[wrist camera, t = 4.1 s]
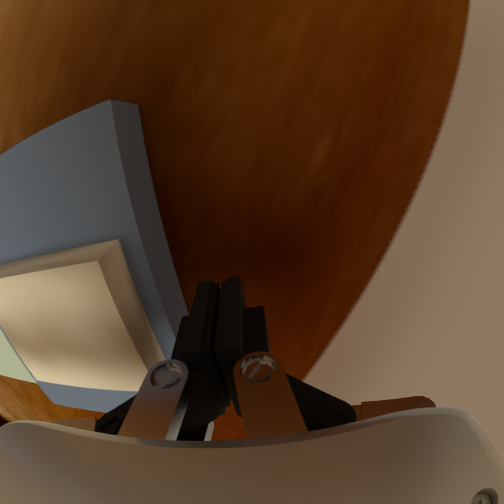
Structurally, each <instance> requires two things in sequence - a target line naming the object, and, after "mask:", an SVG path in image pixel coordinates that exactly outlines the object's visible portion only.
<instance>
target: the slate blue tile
mask: <svg viewBox="0 0 504 504" xmlns="http://www.w3.org/2000/svg"><path fill="white" fill-rule="evenodd" d="M117 239H119V242H120V245H121V248H122V251H123V254H124V257H125V260H126V263H127V266H128V269H129V272H130V275H131V277H132V280H133V283H134V286H135V288H136V291H137V294H138V296H139V299H140V301H141V304H142V306H143V309H144V311H145V314H146V316H147V318H148V321H149V323H150V326H151V328H152V330H153V333H154V335H155V337H156V339H157V341H158V344H159V346H160V348H161V350H162V352H163V354H164V357H165V359H166V360H170V359H171V355H172V352H173V348H174V344H175V340H176V336H177V333H178V329H179V325H180V322H181V319H182V316H185V315H189V313H188V310H187V307H186V304H185V301H184V298H183V294H182V291H181V288H180V285H179V281H178V278H177V275H176V271H175V268H174V264H173V261H172V257H171V254H170V250H169V247H168V243H167V239H166V235H165V232H164V228H163V224H162V220H161V216H160V212H159V208H158V204H157V199H156V195H155V191H154V186H153V182H152V177H151V173H150V168H149V163H148V158H147V153H146V148H145V142H144V137H143V131H142V126H141V120H140V114H139V107H138V104H134V103H129V102H123V101H118V100H112V99H110V100H107V101H105V102H102V103H100V104H97V105H95V106H92V107H90V108H87V109H85V110H83V111H80V112H78V113H76V114H74V115H71V116H69V117H67V118H65V119H63V120H61V121H59V122H57V123H55V124H53V125H51V126H49V127H47V128H45V129H43V130H41V131H39V132H37V133H36V134H34V135H32V136H30V137H29V138H27V139H25V140H23V141H22V142H20V143H18V144H17V145H15V146H13V147H12V148H10V149H9V150H7V151H6V152H4V153H2V154H1V155H0V265H4V264H8V263H12V262H16V261H20V260H24V259H28V258H33V257H37V256H41V255H46V254H50V253H54V252H59V251H63V250H68V249H73V248H77V247H82V246H87V245H92V244H97V243H102V242H107V241H112V240H117ZM0 329H1V331H2V332H3V334H4V336H5V337H6V339H7V341H8V342H9V344H10V345H11V347H12V348H13V350H14V352H15V353H16V355H17V356H18V358H19V359H20V360H21V362H22V363H23V365H24V366H25V368H26V369H27V370H28V372H29V373H30V374H31V376H32V377H33V378H34V380H35V381H36V382H37V384H38V385H39V386H40V387H41V389H42V390H43V391H44V392H45V394H46V395H47V396H48V397H49V398H50V400H51V401H52V402H53V403H54V404H59V405H63V406H69V407H74V408H80V409H85V410H92V411H99V412H106V413H108V412H109V411H111V410H113V409H114V408H116V407H117V406H119V405H121V404H122V403H124V402H125V401H127V400H128V399H130V398H131V397H133V396H134V395H136V394H137V393H138V391H119V390H105V389H94V388H84V387H76V386H68V385H61V384H55V383H49V382H43V381H38V380H36V379H35V377H34V376H33V375H32V373H31V372H30V370H29V369H28V368H27V366H26V365H25V363H24V362H23V361H22V359H21V358H20V356H19V355H18V353H17V352H16V350H15V349H14V347H13V345H12V344H11V342H10V341H9V339H8V337H7V336H6V334H5V332H4V331H3V329H2V327H1V326H0Z"/></svg>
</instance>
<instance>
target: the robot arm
mask: <svg viewBox="0 0 504 504" xmlns="http://www.w3.org/2000/svg"><path fill="white" fill-rule="evenodd" d="M231 399H232V402H233V404H234V407H235V410H236V412H237V415H239V416H240V417H242V420H243V424H244V429H245V434H246V438H247V439H244V440H225V441H210V440H211V436H212V432H213V428H214V423H213V420H214V419H216V418H217V417H218V416H219V415H225V407H226V406H230V403H231ZM0 504H504V464H503V462H502V460H501V458H500V456H499V454H498V452H497V450H496V448H495V446H494V445H493V443H492V441H491V440H490V438H489V436H488V435H487V433H486V432H485V431H484V429H483V428H482V427H481V425H480V424H479V423H478V422H477V421H476V419H474V418H473V417H472V416H471V415H470V414H468V413H466V412H465V411H462V410H459V409H454V408H445V407H436V405H435V403H434V402H433V401H432V400H430V399H429V398H426V397H424V396H414V397H407V398H399V399H391V400H381V401H368V402H361V405H350V404H348V403H347V402H345V401H343V400H341V399H338V398H336V397H334V396H332V395H330V394H327V393H325V392H323V391H321V390H319V389H317V388H314V387H312V386H310V385H308V384H306V383H304V382H302V381H300V380H298V379H296V378H294V377H292V376H290V375H288V374H286V373H285V371H284V368H283V365H282V363H281V361H280V360H279V358H278V357H277V356H275V355H274V354H271V353H270V345H269V337H268V330H267V323H266V317H265V311H264V306H258V307H251V308H247V306H246V301H245V296H244V291H243V286H242V281H241V277H240V276H239V277H232V278H226V282H222V284H221V292H220V287H219V284H218V283H215V284H214V283H213V281H212V280H210V281H203V282H198V285H197V289H196V293H195V297H194V301H193V305H192V309H191V313H190V315H185V316H182V319H181V322H180V325H179V329H178V333H177V336H176V340H175V344H174V348H173V352H172V355H171V359H170V360H164V361H161V362H159V363H157V364H155V365H154V366H153V367H151V368H150V370H149V371H148V373H147V374H146V376H145V378H144V380H143V382H142V384H141V386H140V388H139V391H138V393H137V394H136V395H134V396H133V397H131V398H130V399H128V400H127V401H125V402H124V403H122V404H121V405H119V406H117V407H116V408H114V409H113V410H111V411H109V412H108V413H106V414H105V415H103V416H102V417H101V418H100V419H99V420H97V419H96V418H84V419H64V420H55V421H53V422H51V423H48V422H43V421H34V420H21V421H15V422H11V423H8V424H5V425H3V426H2V427H1V428H0Z"/></svg>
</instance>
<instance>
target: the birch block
mask: <svg viewBox="0 0 504 504" xmlns="http://www.w3.org/2000/svg"><path fill="white" fill-rule="evenodd" d="M0 326H1V327H2V329H3V331H4V332H5V334H6V336H7V337H8V339H9V341H10V342H11V344H12V345H13V347H14V349H15V350H16V352H17V353H18V355H19V356H20V358H21V359H22V361H23V362H24V363H25V365H26V366H27V368H28V369H29V370H30V372H31V373H32V375H33V376H34V377H35V379H36V380H38V381H43V382H49V383H55V384H61V385H68V386H76V387H84V388H94V389H105V390H119V391H139V388H140V386H141V384H142V382H143V380H144V378H145V376H146V374H147V373H148V371H149V370H150V368H151V367H153V366H154V365H155V364H157V363H159V362H161V361H164V360H166V359H165V357H164V354H163V352H162V350H161V348H160V346H159V344H158V341H157V339H156V337H155V335H154V333H153V330H152V328H151V326H150V323H149V321H148V318H147V316H146V314H145V311H144V309H143V306H142V304H141V301H140V299H139V296H138V294H137V291H136V288H135V286H134V283H133V280H132V277H131V275H130V272H129V269H128V266H127V263H126V260H125V257H124V254H123V251H122V248H121V245H120V242H119V239H117V240H112V241H107V242H102V243H97V244H92V245H87V246H82V247H77V248H73V249H68V250H63V251H59V252H54V253H50V254H46V255H41V256H37V257H33V258H28V259H24V260H20V261H16V262H12V263H8V264H4V265H0Z"/></svg>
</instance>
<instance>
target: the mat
mask: <svg viewBox="0 0 504 504" xmlns="http://www.w3.org/2000/svg"><path fill="white" fill-rule="evenodd" d="M0 375H4V376H8V377H11V378H16V379H20V380H24V381H29V382H33V383H37V382H36V381H35V380H34V378H33V377H32V376H31V374H30V373H29V372H28V370H27V369H26V368H25V366H24V365H23V363H22V362H21V360H20V359H19V358H18V356H17V355H16V353H15V352H14V350H13V348H12V347H11V345H10V344H9V342H8V341H7V339H6V337H5V336H4V334H3V332H2V331H1V329H0Z"/></svg>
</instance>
